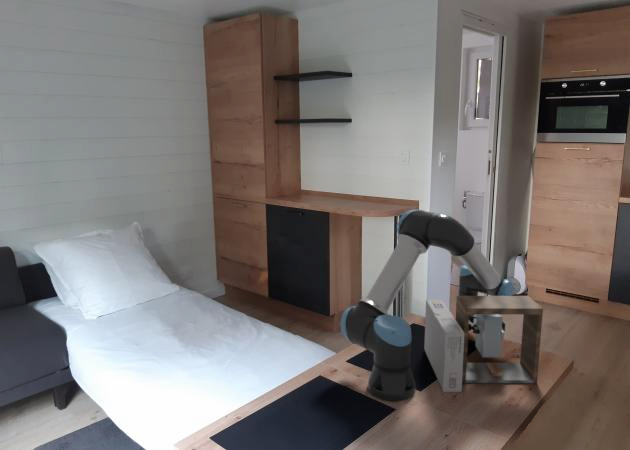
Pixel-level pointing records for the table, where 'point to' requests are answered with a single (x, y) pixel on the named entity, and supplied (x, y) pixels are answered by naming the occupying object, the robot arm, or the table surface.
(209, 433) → the table surface
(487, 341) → the tall grey lidded box
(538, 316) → the walnut shelf
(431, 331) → the packaging
